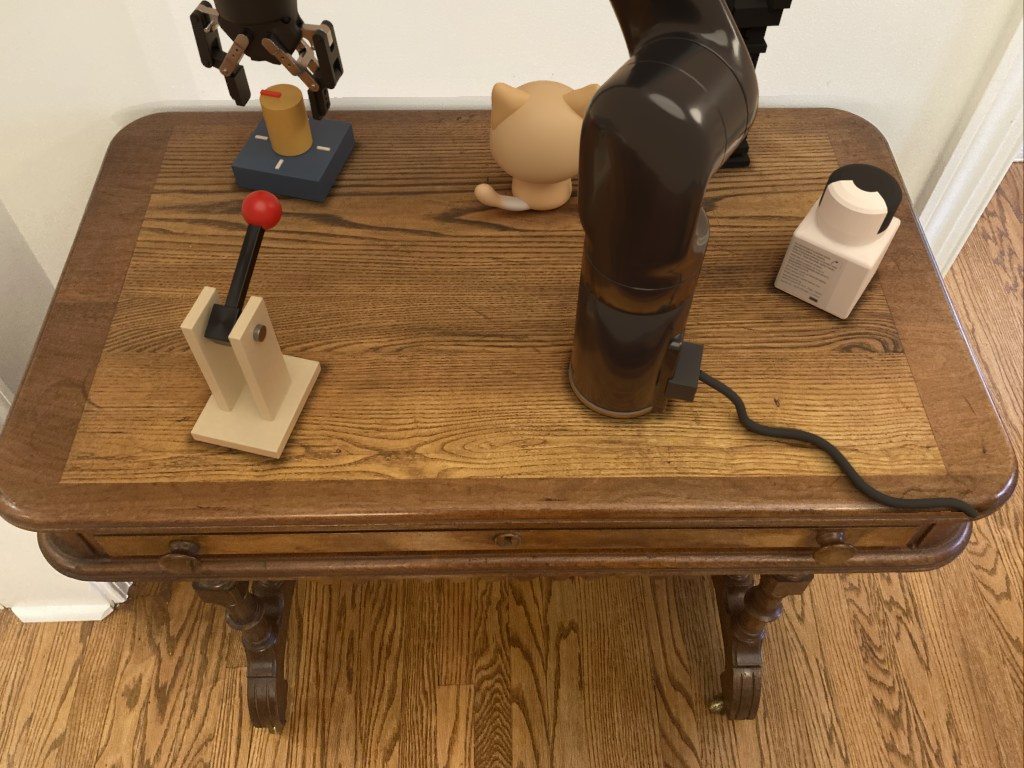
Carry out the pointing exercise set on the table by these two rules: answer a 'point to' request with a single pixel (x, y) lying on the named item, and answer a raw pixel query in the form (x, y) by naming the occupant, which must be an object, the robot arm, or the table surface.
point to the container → (842, 239)
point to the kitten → (536, 142)
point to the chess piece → (753, 46)
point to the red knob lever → (244, 263)
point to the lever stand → (247, 380)
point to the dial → (286, 119)
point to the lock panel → (295, 161)
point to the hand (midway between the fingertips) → (282, 108)
